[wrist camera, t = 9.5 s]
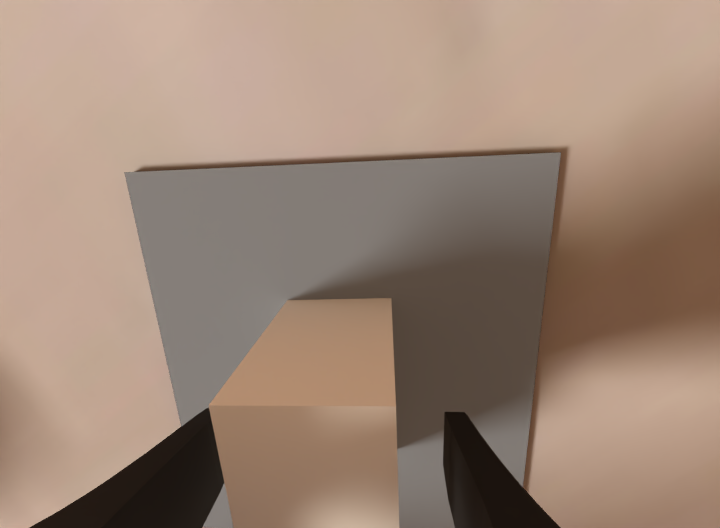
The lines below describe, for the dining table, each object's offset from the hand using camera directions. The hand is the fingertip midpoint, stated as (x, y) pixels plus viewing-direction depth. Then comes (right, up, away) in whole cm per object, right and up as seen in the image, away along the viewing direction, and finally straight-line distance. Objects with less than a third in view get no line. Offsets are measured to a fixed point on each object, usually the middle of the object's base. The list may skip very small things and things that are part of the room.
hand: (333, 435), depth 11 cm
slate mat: (0, +1, +3) cm, 3 cm away
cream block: (0, +1, +3) cm, 3 cm away
